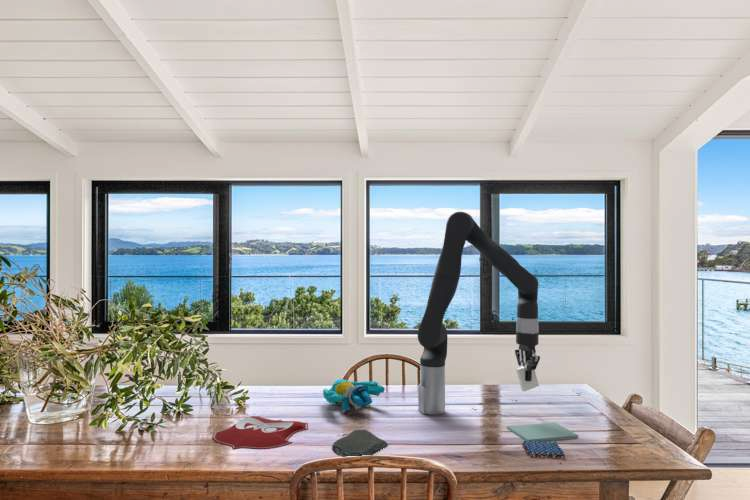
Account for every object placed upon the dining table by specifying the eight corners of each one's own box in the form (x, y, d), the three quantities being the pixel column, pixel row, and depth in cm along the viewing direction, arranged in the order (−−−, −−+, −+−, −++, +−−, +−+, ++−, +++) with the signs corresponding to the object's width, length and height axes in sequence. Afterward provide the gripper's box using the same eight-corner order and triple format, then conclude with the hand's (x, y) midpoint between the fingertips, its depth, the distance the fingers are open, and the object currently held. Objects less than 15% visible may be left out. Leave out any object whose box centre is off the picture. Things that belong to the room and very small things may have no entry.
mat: (527, 442, 158) (527, 439, 158) (507, 428, 171) (507, 426, 171) (578, 437, 162) (578, 435, 162) (554, 424, 175) (554, 422, 175)
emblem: (191, 436, 156) (247, 408, 184) (191, 445, 156) (247, 416, 184) (275, 448, 146) (319, 417, 174) (275, 458, 146) (319, 425, 174)
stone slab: (388, 462, 143) (388, 455, 143) (328, 461, 144) (328, 454, 144) (388, 433, 167) (388, 427, 167) (337, 432, 168) (337, 426, 168)
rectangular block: (524, 391, 177) (518, 369, 176) (521, 390, 178) (515, 368, 178) (538, 385, 178) (533, 364, 178) (536, 384, 180) (530, 363, 179)
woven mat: (520, 446, 157) (520, 439, 157) (556, 447, 156) (556, 440, 156) (527, 459, 146) (527, 452, 146) (565, 461, 145) (565, 453, 145)
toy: (391, 417, 186) (357, 410, 207) (393, 383, 189) (360, 380, 210) (337, 414, 175) (307, 408, 196) (341, 378, 178) (311, 376, 199)
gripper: (508, 328, 184) (507, 376, 183) (527, 334, 170) (527, 385, 170) (526, 327, 185) (526, 375, 185) (547, 333, 172) (547, 384, 172)
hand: (526, 380), depth 178 cm, fingers closed on rectangular block, 1 cm apart
